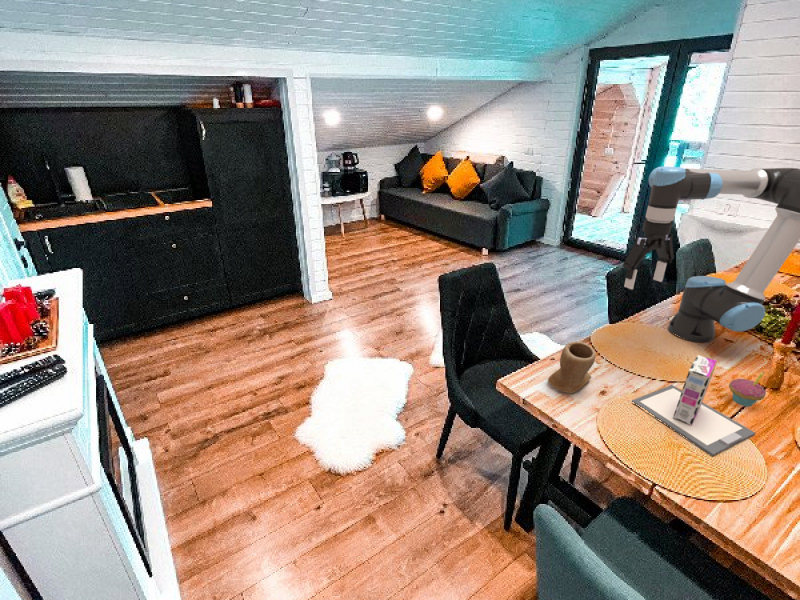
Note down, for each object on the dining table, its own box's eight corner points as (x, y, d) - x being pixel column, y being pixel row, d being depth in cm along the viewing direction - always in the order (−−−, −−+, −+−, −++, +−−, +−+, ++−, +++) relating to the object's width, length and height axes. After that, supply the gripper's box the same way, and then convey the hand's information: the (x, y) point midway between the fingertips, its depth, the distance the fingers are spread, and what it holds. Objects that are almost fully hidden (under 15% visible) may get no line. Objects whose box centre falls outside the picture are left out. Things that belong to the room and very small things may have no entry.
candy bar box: (692, 426, 116) (709, 377, 109) (672, 418, 119) (687, 370, 112) (701, 407, 123) (718, 360, 116) (682, 400, 126) (697, 353, 120)
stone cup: (576, 402, 128) (584, 360, 122) (542, 384, 137) (548, 344, 130) (601, 382, 137) (609, 343, 130) (567, 367, 145) (574, 329, 139)
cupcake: (761, 401, 127) (775, 367, 122) (758, 415, 121) (772, 380, 116) (727, 389, 132) (739, 357, 127) (722, 402, 127) (734, 369, 122)
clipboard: (671, 386, 134) (672, 382, 133) (754, 435, 114) (756, 430, 113) (631, 402, 127) (632, 398, 127) (712, 456, 108) (714, 451, 107)
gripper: (674, 213, 136) (658, 274, 145) (619, 222, 127) (606, 286, 136) (697, 217, 130) (679, 281, 139) (641, 228, 121) (625, 295, 130)
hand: (643, 284), depth 137 cm, fingers open, 13 cm apart
